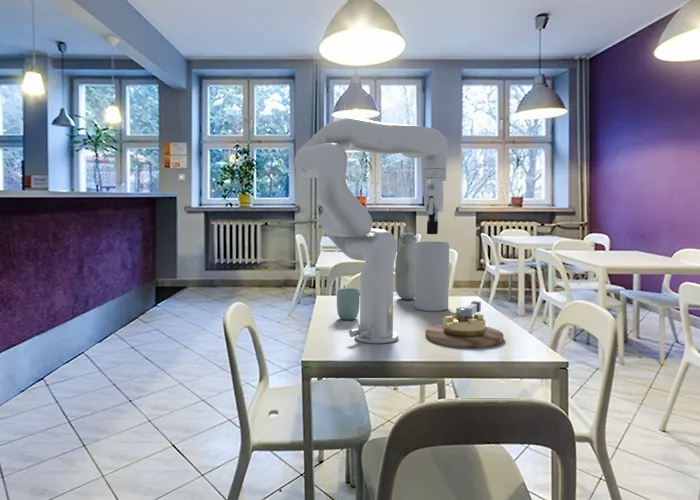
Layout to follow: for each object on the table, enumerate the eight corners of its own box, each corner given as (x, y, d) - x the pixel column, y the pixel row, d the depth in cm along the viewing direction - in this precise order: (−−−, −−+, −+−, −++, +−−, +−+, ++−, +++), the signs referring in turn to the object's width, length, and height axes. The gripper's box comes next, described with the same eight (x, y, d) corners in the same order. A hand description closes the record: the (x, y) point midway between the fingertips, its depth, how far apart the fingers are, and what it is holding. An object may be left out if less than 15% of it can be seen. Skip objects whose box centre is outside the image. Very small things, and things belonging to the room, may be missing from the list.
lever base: (479, 353, 122) (479, 347, 121) (410, 337, 137) (410, 332, 137) (516, 336, 137) (516, 331, 137) (451, 324, 153) (451, 319, 152)
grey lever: (479, 338, 129) (479, 315, 128) (437, 333, 135) (437, 310, 134) (495, 323, 146) (496, 302, 145) (457, 319, 152) (458, 299, 151)
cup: (339, 316, 166) (339, 287, 165) (361, 316, 164) (361, 288, 163) (334, 321, 158) (334, 291, 157) (357, 322, 156) (357, 292, 156)
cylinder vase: (451, 312, 172) (452, 243, 169) (416, 311, 172) (417, 243, 170) (444, 305, 184) (445, 241, 182) (412, 305, 184) (413, 241, 182)
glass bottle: (393, 297, 201) (393, 231, 199) (417, 296, 202) (417, 231, 200) (397, 301, 192) (397, 232, 189) (421, 301, 192) (422, 232, 190)
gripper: (443, 173, 140) (441, 235, 141) (448, 177, 154) (446, 233, 155) (418, 173, 142) (416, 234, 143) (425, 178, 156) (423, 233, 157)
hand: (432, 234), depth 149 cm, fingers closed
